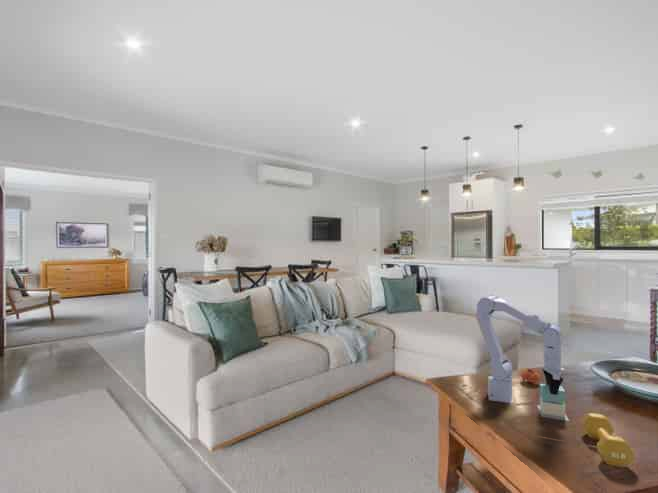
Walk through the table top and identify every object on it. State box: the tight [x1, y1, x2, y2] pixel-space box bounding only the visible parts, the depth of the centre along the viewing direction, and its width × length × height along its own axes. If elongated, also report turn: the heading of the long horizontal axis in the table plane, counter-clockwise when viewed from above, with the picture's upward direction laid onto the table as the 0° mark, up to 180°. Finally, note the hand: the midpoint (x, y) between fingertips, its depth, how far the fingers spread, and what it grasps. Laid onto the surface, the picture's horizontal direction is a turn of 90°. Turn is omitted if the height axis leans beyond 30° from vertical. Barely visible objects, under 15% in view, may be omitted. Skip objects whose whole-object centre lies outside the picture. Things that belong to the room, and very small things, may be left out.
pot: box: [520, 368, 541, 386], centre depth 164 cm, size 8×8×7 cm
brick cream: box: [539, 396, 566, 417], centre depth 135 cm, size 8×5×4 cm, turn 67°
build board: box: [536, 404, 570, 422], centre depth 135 cm, size 9×10×1 cm
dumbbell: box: [580, 412, 636, 468], centre depth 111 cm, size 19×9×8 cm, turn 159°
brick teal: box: [539, 383, 566, 404], centre depth 135 cm, size 8×5×4 cm, turn 67°
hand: (552, 391), depth 135 cm, fingers closed on brick teal, 5 cm apart
